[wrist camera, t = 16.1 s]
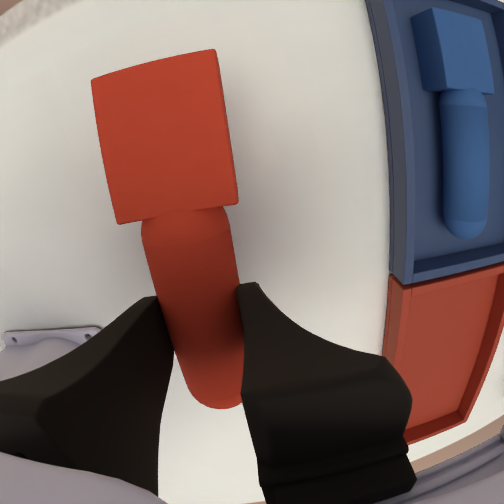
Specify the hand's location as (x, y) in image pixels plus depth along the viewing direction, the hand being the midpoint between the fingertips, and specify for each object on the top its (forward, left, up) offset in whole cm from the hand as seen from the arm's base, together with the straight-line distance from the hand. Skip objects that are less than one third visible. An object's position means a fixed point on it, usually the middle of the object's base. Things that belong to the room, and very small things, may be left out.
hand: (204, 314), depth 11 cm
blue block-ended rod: (+14, +6, -6) cm, 16 cm away
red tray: (+15, -12, -7) cm, 20 cm away
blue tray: (+15, +6, -7) cm, 17 cm away
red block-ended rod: (0, +2, -2) cm, 2 cm away
